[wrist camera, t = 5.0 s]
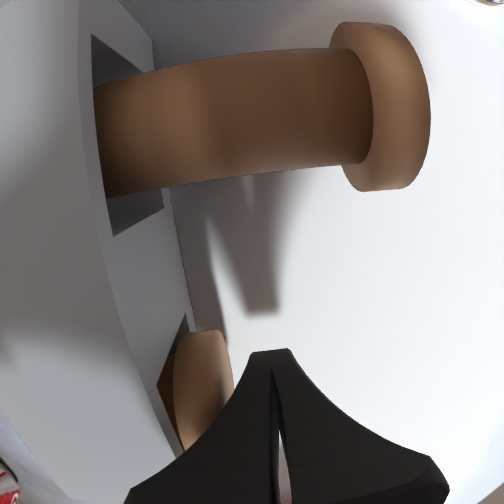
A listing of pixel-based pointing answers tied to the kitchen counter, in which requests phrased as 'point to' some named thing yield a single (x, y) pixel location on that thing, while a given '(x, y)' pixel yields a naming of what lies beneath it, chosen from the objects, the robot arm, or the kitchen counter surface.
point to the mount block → (81, 258)
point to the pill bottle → (486, 3)
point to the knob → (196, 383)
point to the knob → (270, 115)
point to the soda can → (8, 486)
